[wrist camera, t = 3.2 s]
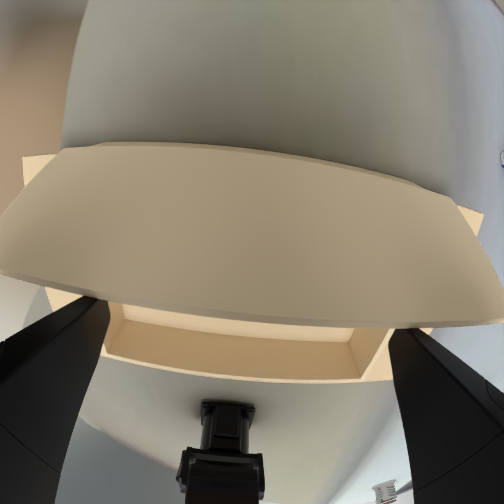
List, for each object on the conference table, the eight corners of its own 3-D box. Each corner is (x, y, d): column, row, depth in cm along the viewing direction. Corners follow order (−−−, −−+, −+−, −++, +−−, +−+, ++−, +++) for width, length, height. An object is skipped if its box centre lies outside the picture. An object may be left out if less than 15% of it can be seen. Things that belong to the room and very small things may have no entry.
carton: (383, 342, 25) (399, 378, 21) (88, 310, 24) (66, 345, 19) (445, 191, 18) (484, 214, 13) (64, 144, 16) (22, 157, 12)
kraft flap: (509, 322, 7) (515, 317, 7) (-25, 266, 6) (-30, 258, 6) (447, 202, 13) (450, 197, 13) (65, 154, 12) (63, 148, 11)
